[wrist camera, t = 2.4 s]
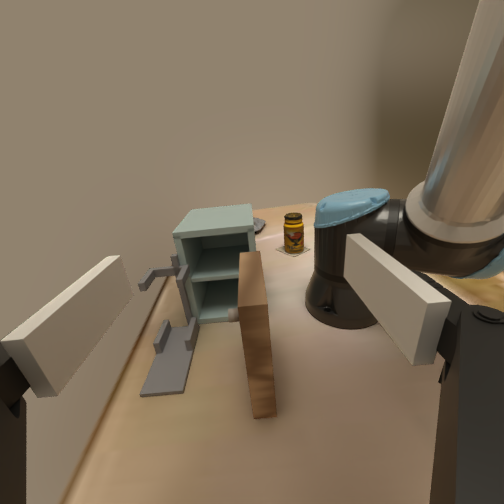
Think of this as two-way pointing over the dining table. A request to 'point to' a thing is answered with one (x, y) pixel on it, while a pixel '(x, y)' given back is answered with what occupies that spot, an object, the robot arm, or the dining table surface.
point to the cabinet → (198, 287)
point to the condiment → (293, 235)
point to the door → (255, 334)
